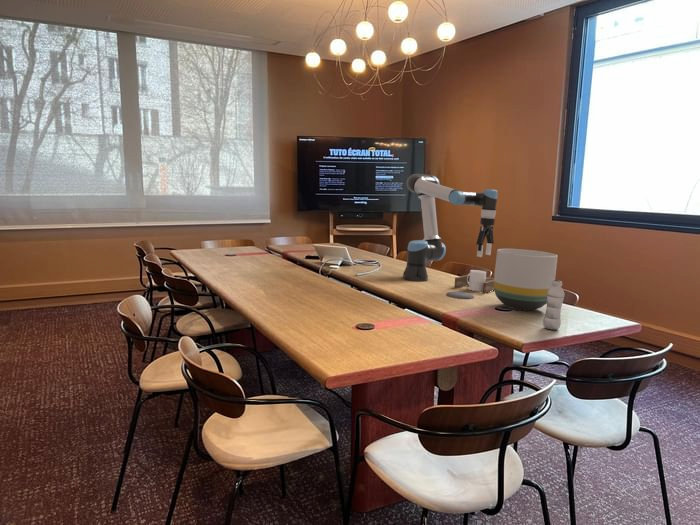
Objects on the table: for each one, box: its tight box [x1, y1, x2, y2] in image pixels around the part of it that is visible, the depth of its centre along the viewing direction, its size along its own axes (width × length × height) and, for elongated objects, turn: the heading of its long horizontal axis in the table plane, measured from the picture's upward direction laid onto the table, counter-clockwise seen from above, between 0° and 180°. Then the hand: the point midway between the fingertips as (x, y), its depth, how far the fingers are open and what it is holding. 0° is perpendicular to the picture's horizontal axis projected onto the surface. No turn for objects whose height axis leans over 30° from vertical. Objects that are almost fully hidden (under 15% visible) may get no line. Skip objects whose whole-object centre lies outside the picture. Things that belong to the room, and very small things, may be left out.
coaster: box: [446, 291, 475, 300], centre depth 245 cm, size 14×14×1 cm
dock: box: [453, 274, 494, 294], centre depth 266 cm, size 18×18×6 cm
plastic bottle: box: [542, 279, 566, 331], centre depth 189 cm, size 6×7×20 cm
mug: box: [467, 269, 487, 292], centre depth 264 cm, size 9×12×11 cm
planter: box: [493, 248, 558, 311], centre depth 223 cm, size 27×27×27 cm
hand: (483, 255), depth 263 cm, fingers open, 13 cm apart
